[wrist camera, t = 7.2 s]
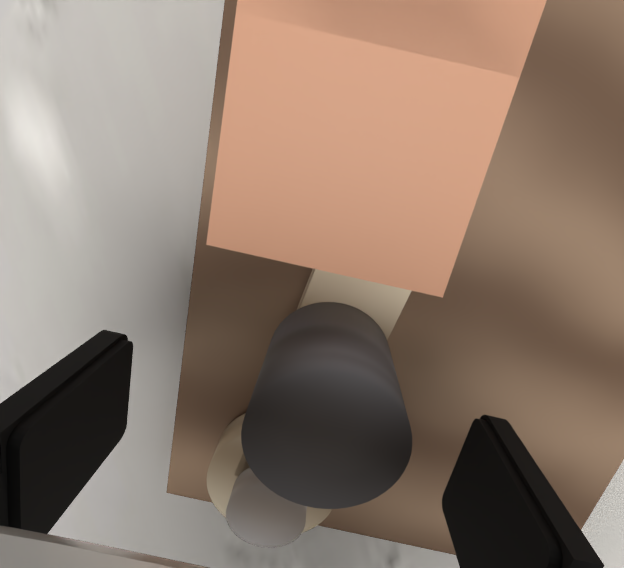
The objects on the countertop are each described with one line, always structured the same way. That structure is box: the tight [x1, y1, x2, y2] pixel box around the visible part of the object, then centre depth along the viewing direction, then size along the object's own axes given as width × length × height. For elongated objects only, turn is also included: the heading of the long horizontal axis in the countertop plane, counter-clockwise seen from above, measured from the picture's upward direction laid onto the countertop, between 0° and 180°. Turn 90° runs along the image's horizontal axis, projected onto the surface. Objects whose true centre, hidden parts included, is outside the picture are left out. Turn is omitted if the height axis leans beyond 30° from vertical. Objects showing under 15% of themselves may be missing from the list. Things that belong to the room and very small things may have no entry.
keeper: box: [206, 0, 547, 298], centre depth 10 cm, size 8×6×4 cm
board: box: [167, 0, 624, 555], centre depth 13 cm, size 23×18×5 cm
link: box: [206, 269, 412, 533], centre depth 12 cm, size 14×5×6 cm, turn 160°
